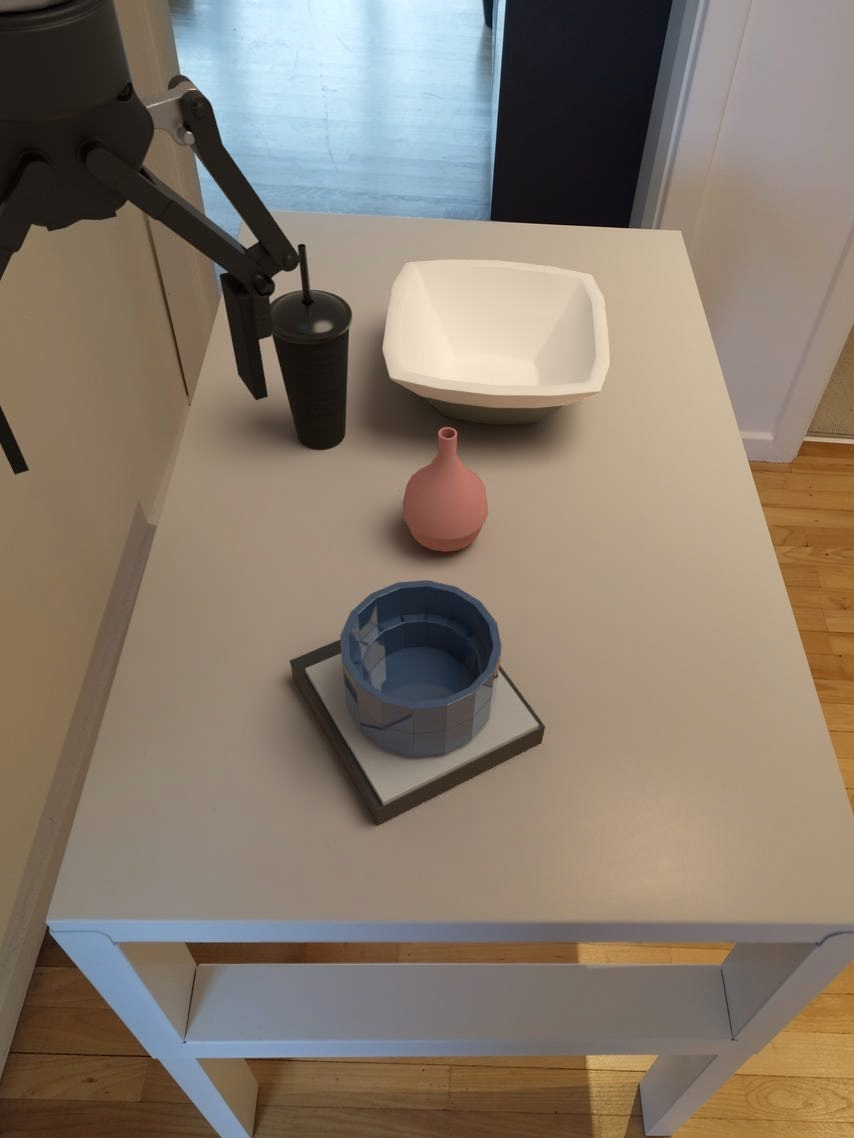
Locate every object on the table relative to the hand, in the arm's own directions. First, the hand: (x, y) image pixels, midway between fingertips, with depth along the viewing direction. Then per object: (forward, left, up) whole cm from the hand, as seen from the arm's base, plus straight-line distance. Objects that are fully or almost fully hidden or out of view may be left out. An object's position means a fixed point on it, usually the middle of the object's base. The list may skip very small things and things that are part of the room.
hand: (139, 420), depth 51 cm
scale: (+10, +12, -27) cm, 31 cm away
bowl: (-22, +39, -27) cm, 52 cm away
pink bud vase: (-6, +24, -27) cm, 37 cm away
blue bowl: (+10, +12, -24) cm, 29 cm away
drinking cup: (-24, +20, -27) cm, 41 cm away
